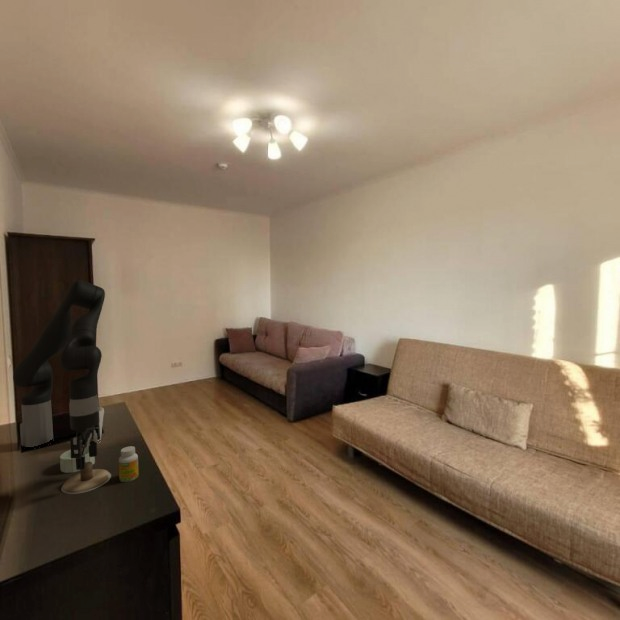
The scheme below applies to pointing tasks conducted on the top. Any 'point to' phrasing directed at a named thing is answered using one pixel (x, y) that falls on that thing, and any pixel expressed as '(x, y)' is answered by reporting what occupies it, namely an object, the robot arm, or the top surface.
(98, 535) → the top surface
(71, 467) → the bowl
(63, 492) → the mat
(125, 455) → the supplement bottle
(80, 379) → the robot arm
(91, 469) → the lid
